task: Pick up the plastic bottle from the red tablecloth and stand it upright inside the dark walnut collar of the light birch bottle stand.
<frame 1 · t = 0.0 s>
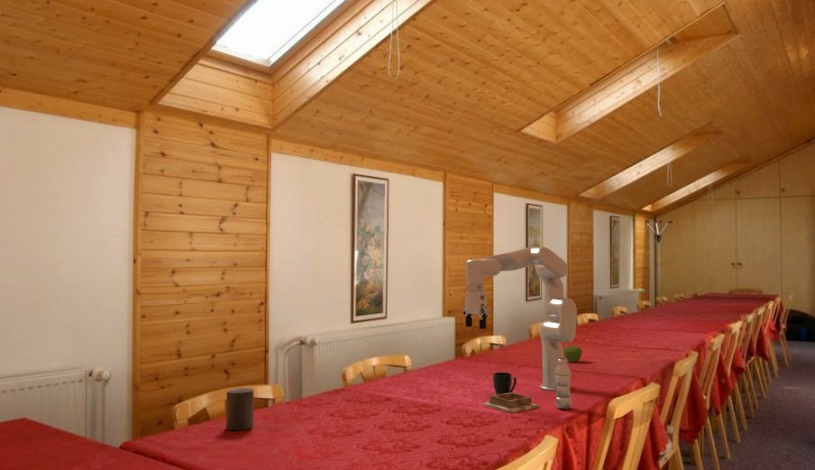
hand: (475, 327, 267), 31 cm above the table, tool pointing down, fingers open, 9 cm apart
bottle stand: (510, 406, 255), on the table
mug: (505, 396, 274), on the table
plastic bottle: (563, 409, 250), on the table
apple: (572, 362, 362), on the table
dark grey cylinder: (240, 428, 228), on the table
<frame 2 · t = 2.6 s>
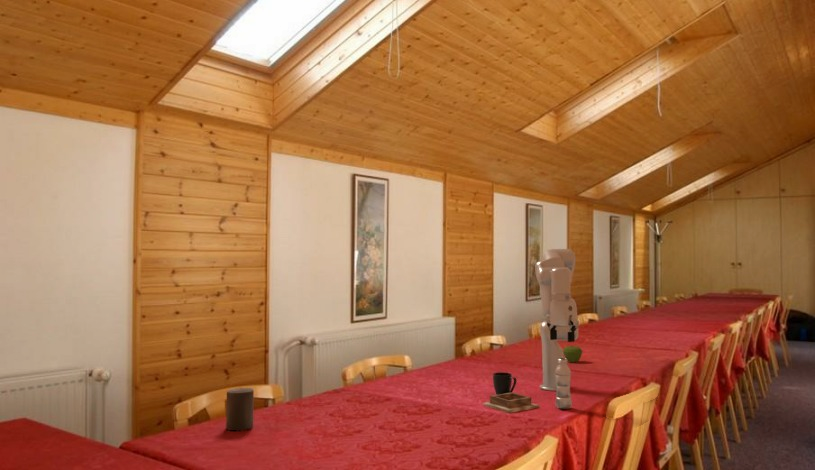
hand: (562, 340, 251), 27 cm above the table, tool pointing down, fingers open, 9 cm apart
nothing on the table moved.
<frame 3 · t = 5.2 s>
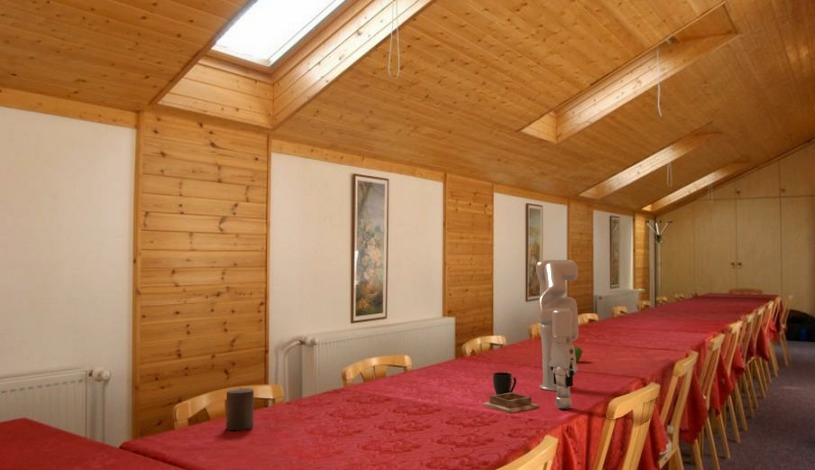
hand: (563, 384, 251), 10 cm above the table, tool pointing down, fingers closed on plastic bottle, 6 cm apart
plastic bottle: (563, 409, 250), on the table, touching gripper
everything else where it was.
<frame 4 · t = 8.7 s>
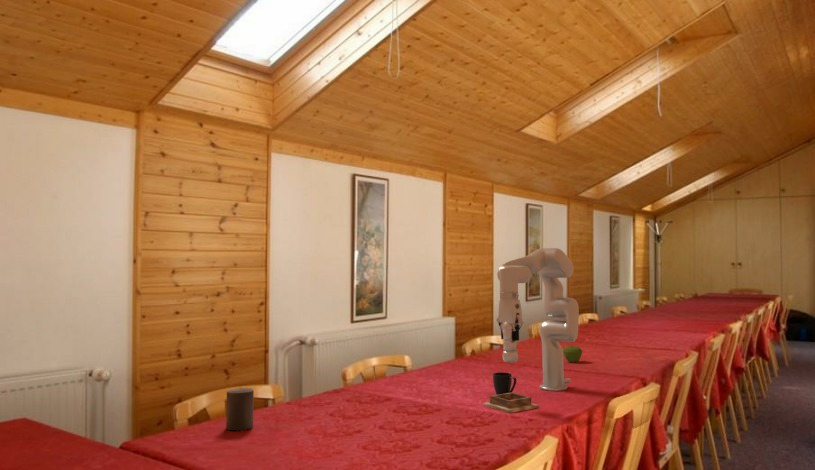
hand: (510, 339, 256), 27 cm above the table, tool pointing down, fingers closed on plastic bottle, 6 cm apart
plastic bottle: (510, 363, 256), point 18 cm above the table, touching gripper
everything else where it was.
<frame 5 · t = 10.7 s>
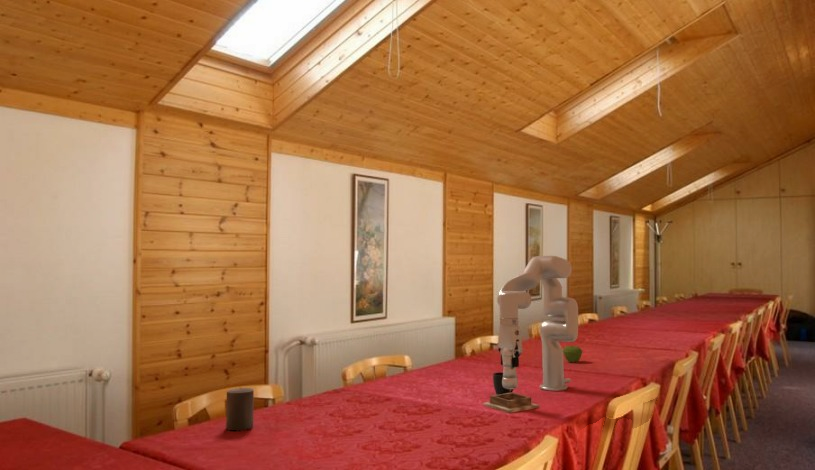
hand: (509, 365, 256), 17 cm above the table, tool pointing down, fingers closed on plastic bottle, 6 cm apart
plastic bottle: (510, 389, 255), point 7 cm above the table, touching gripper
everything else where it was.
when the fingers open (12 cm above the table, at t = 12.6 s): plastic bottle drops 1 cm, resting on bottle stand.
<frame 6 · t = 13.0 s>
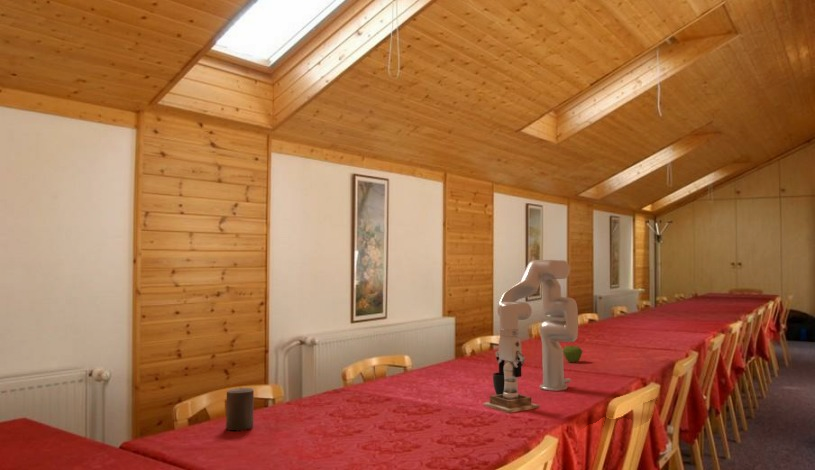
hand: (510, 375, 256), 13 cm above the table, tool pointing down, fingers open, 9 cm apart
plastic bottle: (510, 404, 255), point 1 cm above the table, touching bottle stand
everything else where it was.
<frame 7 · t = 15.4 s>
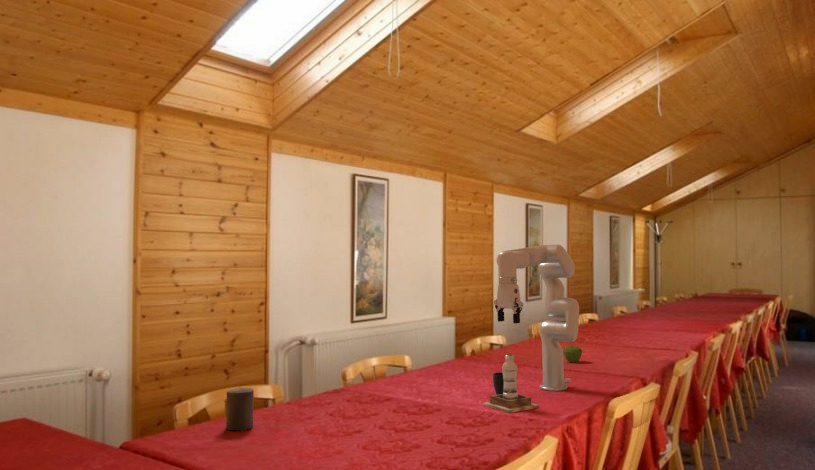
hand: (508, 322, 259), 34 cm above the table, tool pointing down, fingers open, 9 cm apart
nothing on the table moved.
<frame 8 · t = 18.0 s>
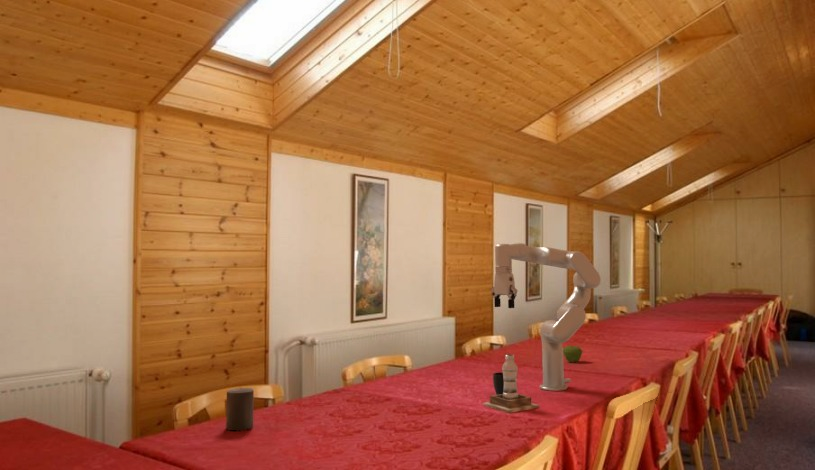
hand: (504, 307, 287), 38 cm above the table, tool pointing down, fingers open, 9 cm apart
nothing on the table moved.
at the end: plastic bottle 0.3 cm off-centre on the bottle stand, point 0.8 cm above the bottle stand's base; plastic bottle tilted 0°; the gripper is holding nothing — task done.
